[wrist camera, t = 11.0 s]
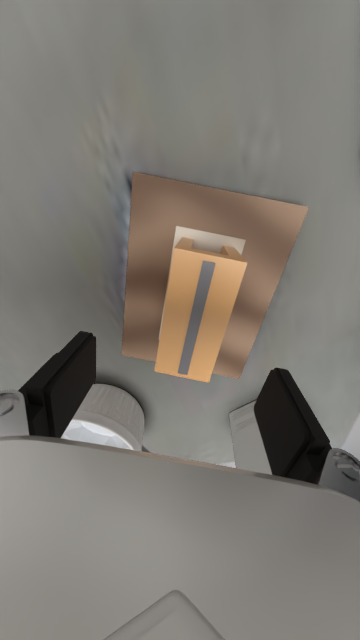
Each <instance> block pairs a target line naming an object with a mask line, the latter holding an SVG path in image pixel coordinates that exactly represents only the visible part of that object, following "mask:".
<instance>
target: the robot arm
mask: <svg viewBox="0 0 360 640" xmlns="http://www.w3.org/2000/svg"><path fill="white" fill-rule="evenodd" d="M95 378H96V337H95V336H93V334H92V333H88V332H83V331H80V332H79V333H78V334H77V335H76V336H75V337H74V338H73V339H72V340H71V341H70V342H69V343H68V344H67V345H66V346H65V347H64V348H63V349H62V350H61V351H60V352H59V353H56V354H55V355H53V356H52V357H51V358H50V359H49V360H48V361H47V362H46V363H45V364H44V365H43V366H42V367H41V368H40V369H39V370H38V371H37V372H36V373H35V374H34V375H33V376H32V377H31V378H30V379H29V380H28V381H27V382H26V383H25V384H24V385H23V386H22V387H21V388H20V389H19V390H18V391H16V390H3V391H0V640H360V461H359V460H358V459H357V458H355V457H354V456H353V455H352V454H350V453H348V452H346V451H344V450H342V449H338V448H333V449H332V448H331V446H330V444H329V443H330V440H329V439H328V437H327V435H326V434H325V432H324V430H323V429H322V427H321V425H320V424H319V422H318V420H317V418H316V417H315V415H314V413H313V412H312V410H311V408H310V407H309V405H308V403H307V401H306V400H305V398H304V396H303V395H302V393H301V391H300V390H299V388H298V386H297V384H296V383H295V381H294V379H293V378H292V376H291V374H290V373H289V371H288V370H286V369H280V368H275V369H274V370H271V371H270V373H269V375H268V377H267V379H266V381H265V383H264V386H263V388H262V390H261V392H260V394H259V396H258V398H257V400H256V402H255V405H254V414H255V417H256V421H257V424H258V428H259V431H260V435H261V438H262V441H263V445H264V448H265V452H266V455H267V458H268V462H269V465H270V469H271V472H272V475H270V474H265V473H259V472H254V471H248V470H243V469H237V468H231V467H226V466H220V465H215V464H210V463H204V462H198V461H193V460H187V459H182V458H176V457H170V456H164V455H159V454H153V453H147V452H141V451H136V450H130V449H124V448H118V447H112V446H106V445H100V444H95V443H88V442H82V441H75V440H68V439H62V438H61V437H62V435H63V433H64V432H65V430H66V428H67V427H68V425H69V423H70V422H71V420H72V418H73V417H74V415H75V413H76V412H77V410H78V408H79V407H80V405H81V403H82V402H83V400H84V398H85V397H86V395H87V393H88V392H89V390H90V388H91V387H92V385H93V383H94V381H95Z"/></svg>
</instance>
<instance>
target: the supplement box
mask: <svg viewBox="0 0 360 640" xmlns="http://www.w3.org/2000/svg"><path fill="white" fill-rule="evenodd" d="M255 402H256V400H255V401H253V402H251V403H249V404H247V405H245V406H243V407H241V408H239V409H236V410H234V411H232V412H231V413H229V420H230V428H231V436H232V443H233V450H234V458H235V465H236V468H237V469H243V470H248V471H254V472H259V473H265V474H270V475H272V472H271V469H270V465H269V462H268V458H267V455H266V452H265V448H264V445H263V441H262V438H261V435H260V431H259V428H258V424H257V421H256V417H255V414H254V405H255Z"/></svg>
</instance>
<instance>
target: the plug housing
mask: <svg viewBox="0 0 360 640" xmlns="http://www.w3.org/2000/svg"><path fill="white" fill-rule="evenodd" d="M193 240H194V239H189V238H184V237H182V238H181V239H180V241H179V242H178V243H177V245H176V246H175V247H174V251H173V258H172V264H171V270H170V277H169V283H168V289H167V295H166V302H165V308H164V314H163V321H162V327H161V333H160V339H159V346H158V352H157V358H156V365H155V371H154V372H159V373H164V374H169V375H174V376H179V377H184V378H189V379H194V380H199V381H204V382H208V383H209V381H210V377H211V374H212V371H213V368H214V365H215V362H216V359H217V356H218V353H219V350H220V346H221V343H222V340H223V337H224V334H225V331H226V328H227V325H228V322H229V319H230V316H231V312H232V309H233V306H234V303H235V300H236V297H237V294H238V291H239V288H240V285H241V281H242V278H243V275H244V272H245V269H246V266H247V262H246V260H245V259H244V258H243V257H242V256H241V255H240V253H239V252H238V251H237V250H236V249H235V248H234V247H229V246H224V245H223V248H222V252H221V254H218V253H213V252H208V251H203V250H198V249H193V248H192V245H193Z"/></svg>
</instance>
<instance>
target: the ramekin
mask: <svg viewBox="0 0 360 640" xmlns="http://www.w3.org/2000/svg"><path fill="white" fill-rule="evenodd" d="M144 425H145V422H144V414H143V411H142V409H141V407H140V405H139V404H138V402H137V401H136V400H135V398H133V397H132V396H131V395H130V394H129V393H127V392H126V391H124V390H122V389H120V388H118V387H115V386H112V385H107V384H93V385H92V387H91V388H90V390H89V392H88V393H87V395H86V397H85V398H84V400H83V402H82V403H81V405H80V407H79V408H78V410H77V412H76V413H75V415H74V417H73V418H72V420H71V422H70V423H69V425H68V427H67V428H66V430H65V432H64V433H63V435H62V437H61V438H62V439H68V440H75V441H82V442H88V443H95V444H100V445H106V446H112V447H118V448H124V449H130V450H136V451H141V447H142V441H143V434H144ZM141 452H142V451H141Z"/></svg>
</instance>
